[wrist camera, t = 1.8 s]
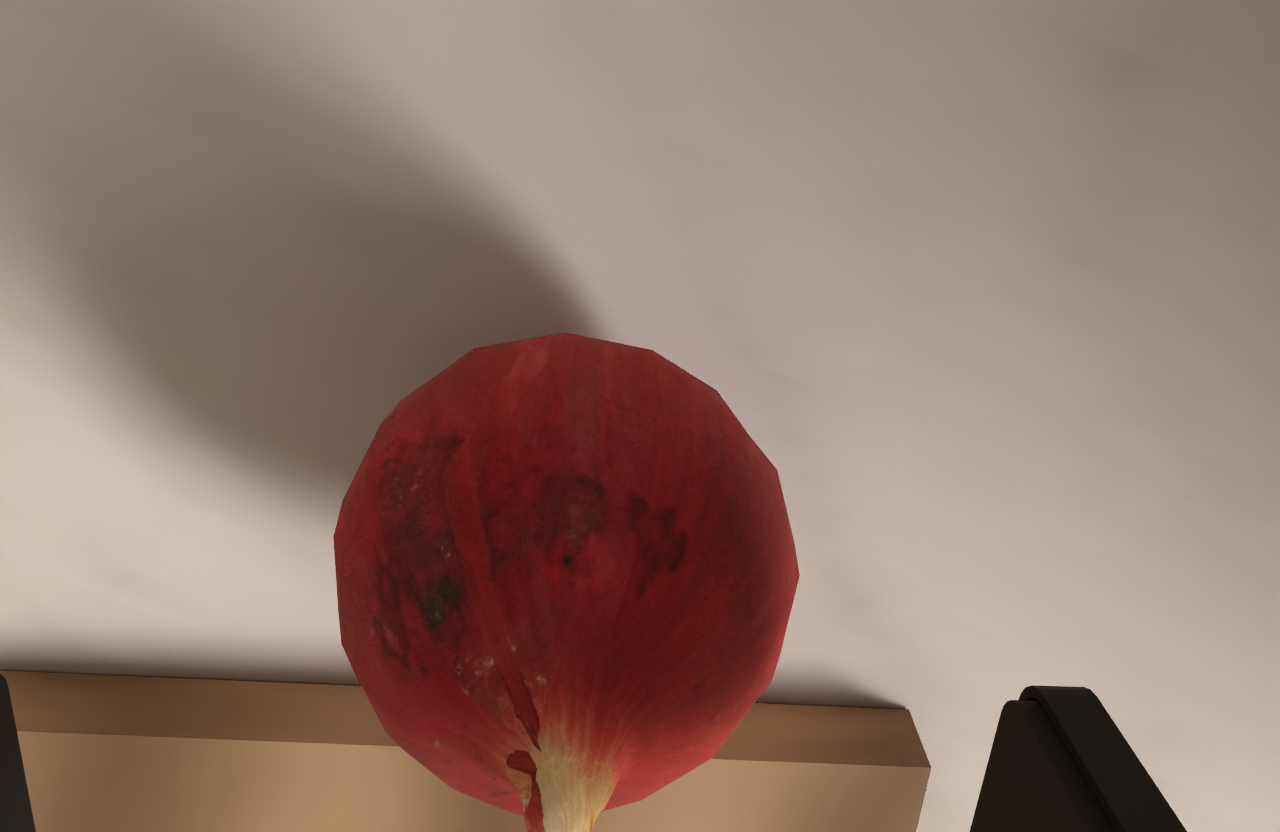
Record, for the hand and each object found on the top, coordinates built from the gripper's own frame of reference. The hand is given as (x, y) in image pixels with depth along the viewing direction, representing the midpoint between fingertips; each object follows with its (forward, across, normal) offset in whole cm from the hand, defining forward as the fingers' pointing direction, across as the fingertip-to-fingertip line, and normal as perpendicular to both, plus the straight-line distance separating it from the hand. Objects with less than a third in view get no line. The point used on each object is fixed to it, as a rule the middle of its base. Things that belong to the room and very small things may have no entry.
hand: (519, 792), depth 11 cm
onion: (+8, -1, 0) cm, 8 cm away
